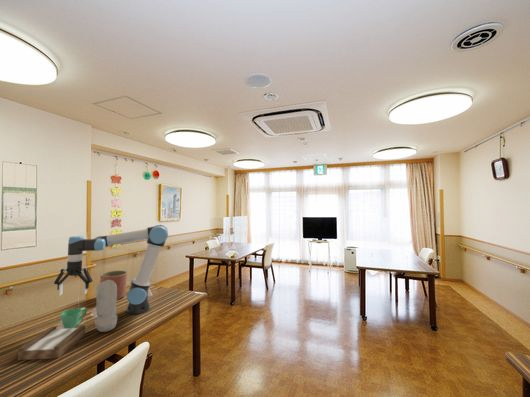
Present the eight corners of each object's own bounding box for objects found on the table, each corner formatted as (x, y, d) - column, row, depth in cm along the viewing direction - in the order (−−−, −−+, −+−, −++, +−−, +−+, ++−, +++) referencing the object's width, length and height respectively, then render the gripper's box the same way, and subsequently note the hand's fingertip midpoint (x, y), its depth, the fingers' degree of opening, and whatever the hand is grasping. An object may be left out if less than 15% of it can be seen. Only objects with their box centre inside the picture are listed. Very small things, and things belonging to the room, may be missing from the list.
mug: (68, 333, 143) (69, 316, 144) (55, 331, 145) (56, 314, 146) (91, 322, 158) (92, 306, 158) (78, 320, 160) (79, 305, 160)
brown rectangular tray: (84, 334, 142) (85, 325, 143) (58, 357, 121) (59, 346, 121) (50, 336, 140) (51, 326, 140) (17, 360, 118) (18, 348, 118)
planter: (106, 293, 208) (108, 270, 209) (129, 293, 210) (131, 270, 211) (93, 302, 190) (95, 276, 190) (119, 302, 192) (120, 276, 192)
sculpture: (123, 326, 154) (126, 278, 155) (109, 335, 142) (112, 284, 144) (101, 324, 156) (104, 277, 157) (86, 333, 144) (89, 282, 145)
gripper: (99, 258, 161) (97, 291, 160) (55, 259, 155) (53, 293, 154) (94, 261, 153) (92, 295, 153) (48, 262, 148) (45, 297, 147)
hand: (72, 294), depth 153 cm, fingers open, 13 cm apart
